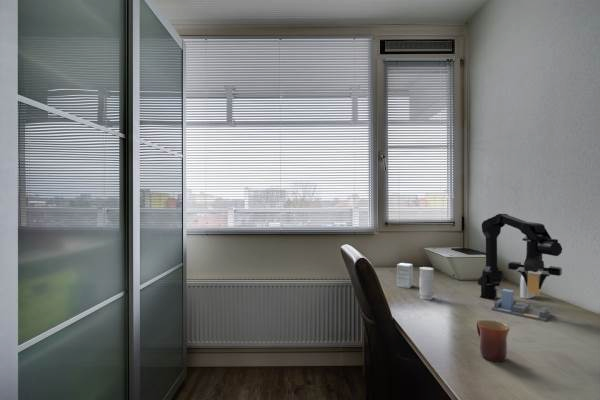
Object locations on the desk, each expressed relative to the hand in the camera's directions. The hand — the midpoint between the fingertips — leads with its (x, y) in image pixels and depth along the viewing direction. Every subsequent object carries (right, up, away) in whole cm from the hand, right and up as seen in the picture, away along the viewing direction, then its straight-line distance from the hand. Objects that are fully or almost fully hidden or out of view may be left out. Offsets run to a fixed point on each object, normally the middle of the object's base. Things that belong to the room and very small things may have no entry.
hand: (533, 288), depth 146 cm
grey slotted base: (-4, -12, +3) cm, 13 cm away
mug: (-41, -12, -38) cm, 57 cm away
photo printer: (+16, -12, +28) cm, 34 cm away
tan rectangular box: (0, -2, 0) cm, 2 cm away
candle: (-38, -12, +24) cm, 46 cm away
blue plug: (-7, -11, +7) cm, 15 cm away
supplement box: (-41, -12, +48) cm, 64 cm away
